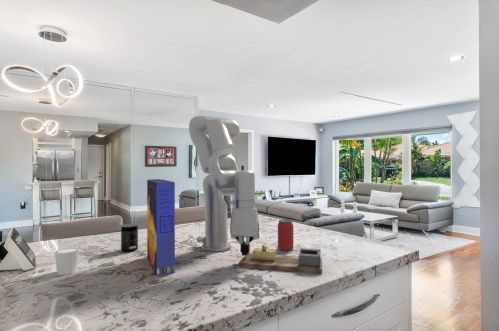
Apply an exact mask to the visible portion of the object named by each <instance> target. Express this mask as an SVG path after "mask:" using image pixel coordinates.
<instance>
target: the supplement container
mask: <svg viewBox="0 0 499 331" xmlns="http://www.w3.org/2000/svg"><path fill="white" fill-rule="evenodd" d="M138 249H139V224H138V223H125V224H122V225H120V250H121V252H123V253H133V252H136V251H138Z"/></svg>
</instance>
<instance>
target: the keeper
mask: <svg viewBox="0 0 499 331" xmlns="http://www.w3.org/2000/svg"><path fill="white" fill-rule="evenodd" d="M321 251H322V250H321V249H319V248H305V247H304V248H303V247H300V249H299V252H300V253H298V256H299V266H309V267H320V262H321V258H322V257H321V256H322V255H321V253H322V252H321Z"/></svg>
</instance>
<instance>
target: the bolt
mask: <svg viewBox="0 0 499 331" xmlns="http://www.w3.org/2000/svg"><path fill="white" fill-rule="evenodd" d="M277 249H278V248H277ZM277 249H276V248H268V244H263V245H261V248H260V247H254V248H253V250H252V253H253V259H255V260H268V261H275V260H276V258H277V255H278V253H277V252H278V251H277Z"/></svg>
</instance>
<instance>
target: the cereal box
mask: <svg viewBox="0 0 499 331" xmlns="http://www.w3.org/2000/svg"><path fill="white" fill-rule="evenodd" d="M175 183H176V182H175V181H170V180H166V179H160V178H158V179H157V178H156V179H155V178H154V179H147V180H146V186H147V187H146V191H147V194H146V195H147V196H146V197H147V198H146V201H147V203H146V208H147V210H146V212H147V214H146V215H147V218H146V222H147V223H146V224H147V226H146V228H147V230H146V231H147V232H146V234H147V235H146V237H147V238H146V240H147V242H146V243H147V244H146V245H147V259H148V261H149V264H150V266H151V268H152V270H153V273H154V275H155V276H156V277H157V276H164V275H171V274H175V273H176V218H175V217H176V216H175V215H176V206H175V205H176V202H175V201H176V199H175V198H176V195H175V194H176V193H175V192H176V191H175V190H176V184H175Z"/></svg>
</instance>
